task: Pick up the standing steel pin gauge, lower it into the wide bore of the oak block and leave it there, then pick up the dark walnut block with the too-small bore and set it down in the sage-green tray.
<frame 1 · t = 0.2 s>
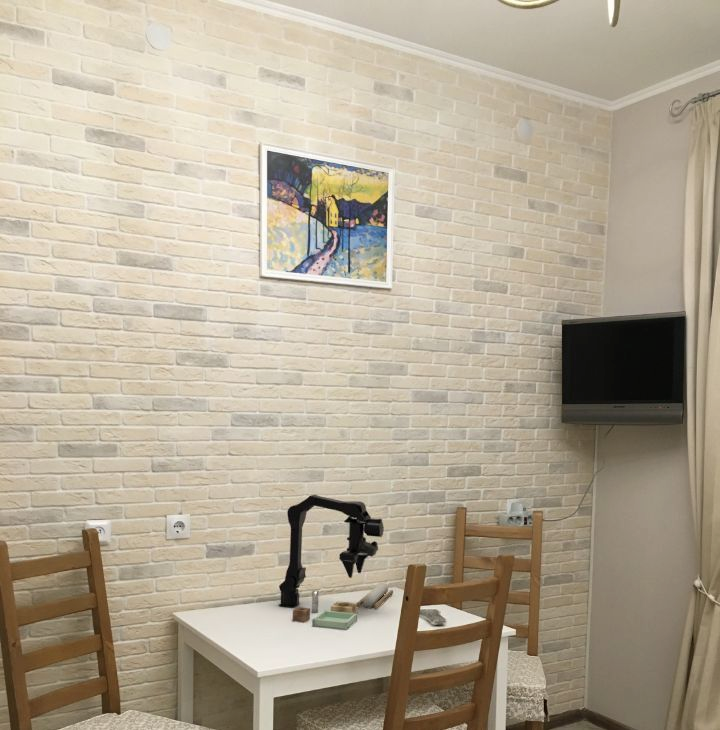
hand: (354, 575, 303), 14 cm above the table, tool pointing down, fingers open, 9 cm apart
tube: (375, 602, 321), on the table
walnut block: (301, 620, 289), on the table
oak block: (343, 613, 299), on the table
tray: (334, 623, 286), on the table
tube rest: (375, 600, 321), on the table
pin gauge: (314, 612, 301), on the table
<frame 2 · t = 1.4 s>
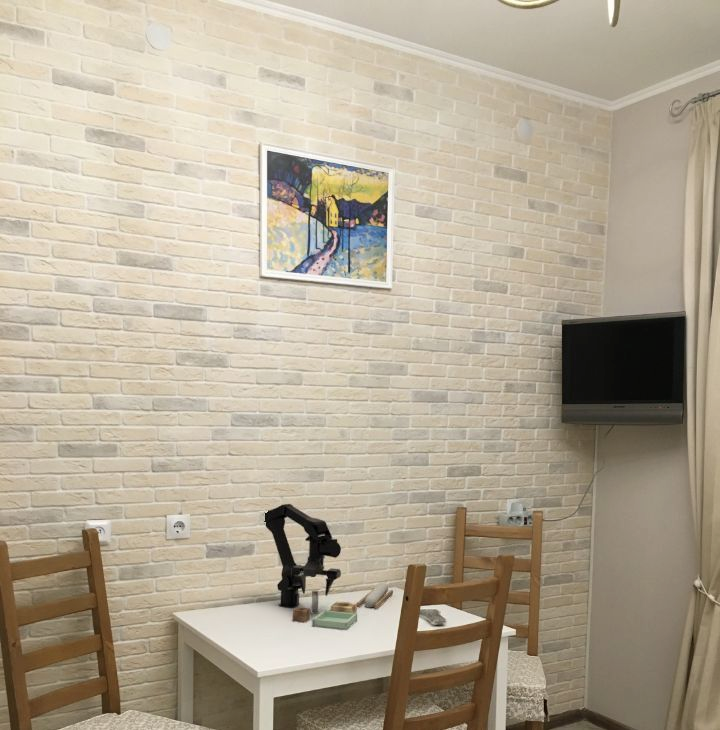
hand: (315, 594, 301), 7 cm above the table, tool pointing down, fingers open, 9 cm apart
nothing on the table moved.
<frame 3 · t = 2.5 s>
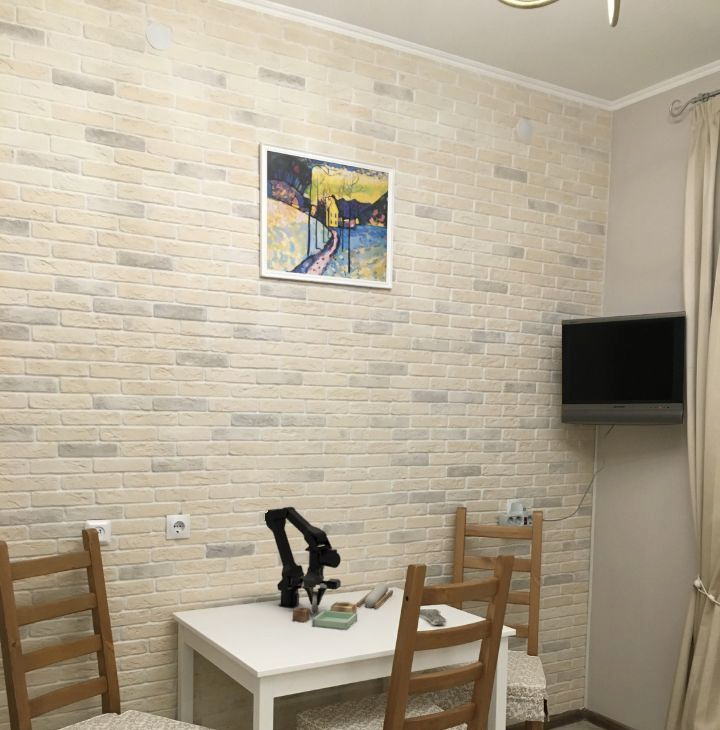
hand: (315, 604, 301), 3 cm above the table, tool pointing down, fingers closed on pin gauge, 2 cm apart
pin gauge: (314, 612, 301), on the table, touching gripper
everything else where it was.
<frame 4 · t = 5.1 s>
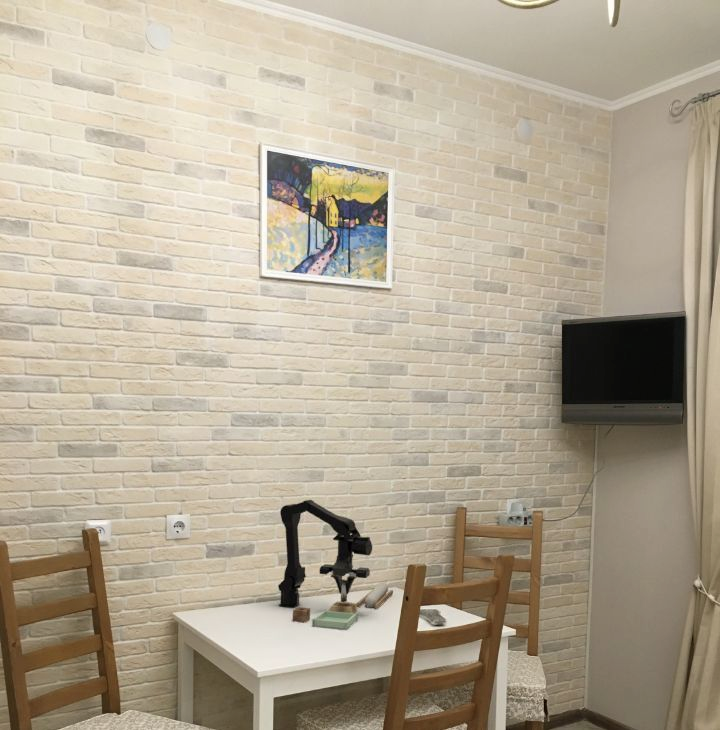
hand: (343, 593, 300), 8 cm above the table, tool pointing down, fingers closed on pin gauge, 2 cm apart
pin gauge: (343, 601, 300), point 5 cm above the table, touching gripper
everything else where it was.
when the fingers open (4 cm above the table, at t = 6.0 s): pin gauge drops 2 cm, resting in oak block.
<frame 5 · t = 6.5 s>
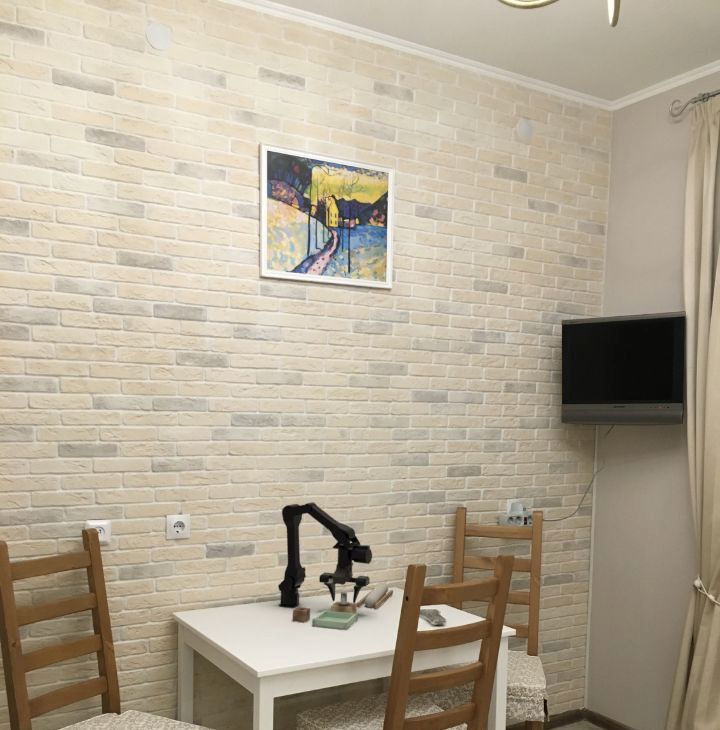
hand: (343, 602, 300), 4 cm above the table, tool pointing down, fingers open, 8 cm apart
pin gauge: (343, 614, 299), resting in oak block
everything else where it was.
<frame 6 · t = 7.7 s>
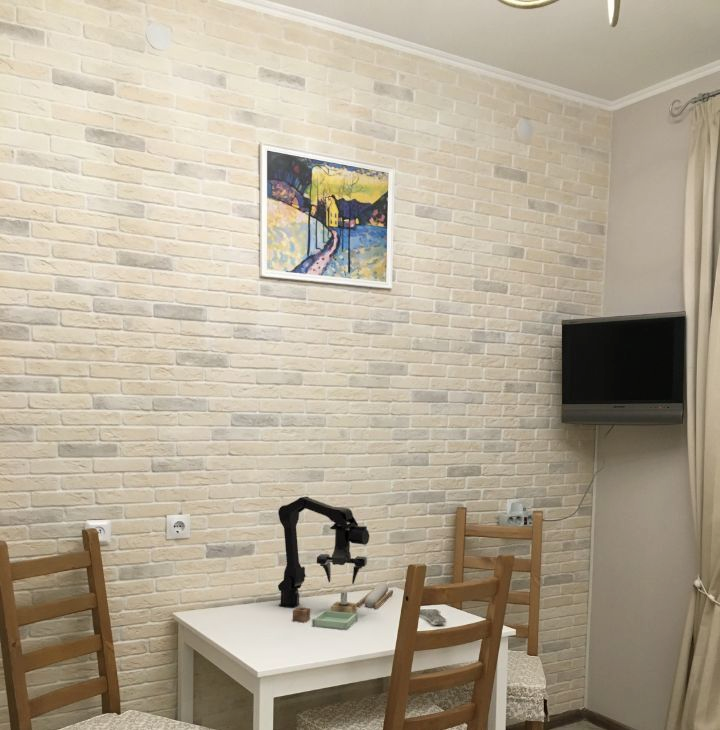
hand: (341, 582, 299), 12 cm above the table, tool pointing down, fingers open, 9 cm apart
nothing on the table moved.
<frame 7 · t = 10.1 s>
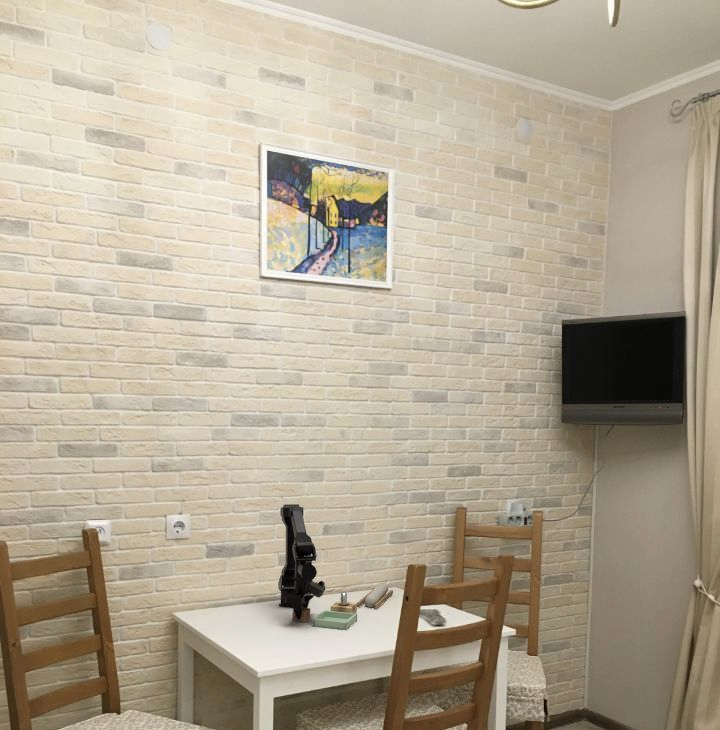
hand: (301, 617, 290), 1 cm above the table, tool pointing down, fingers closed on walnut block, 5 cm apart
walnut block: (301, 620, 289), on the table, touching gripper
everything else where it was.
when the fingers open (3 cm above the table, at t = 13.8 s): walnut block drops 1 cm, resting on tray.
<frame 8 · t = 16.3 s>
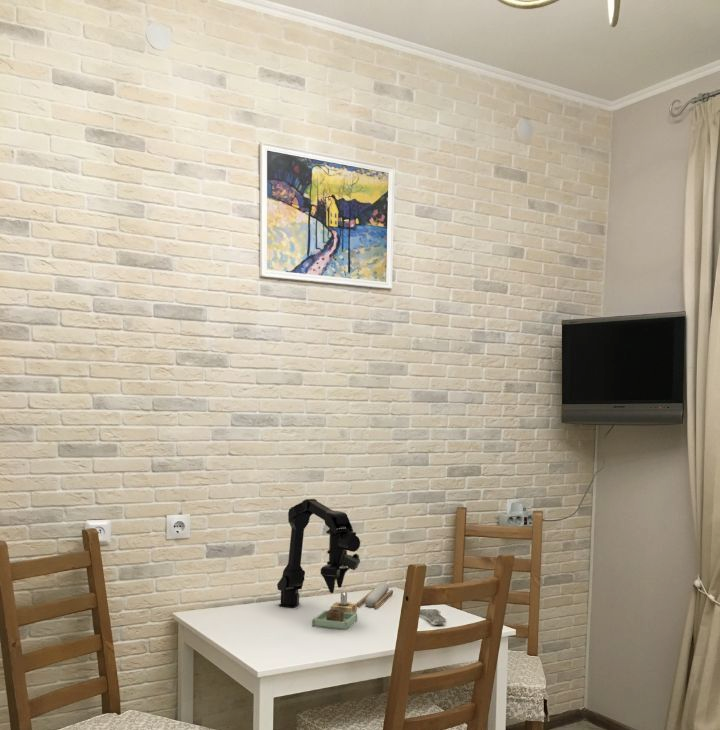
hand: (335, 590, 287), 12 cm above the table, tool pointing down, fingers open, 9 cm apart
walnut block: (334, 622, 286), resting on tray
everything else where it was.
at the end: walnut block inside the target area on the tray (0.0 cm from its centre), point 0.5 cm above the tray's base; pin gauge 0.1 cm off-centre on the oak block, point 0.0 cm above the oak block's base; the gripper is holding nothing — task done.
